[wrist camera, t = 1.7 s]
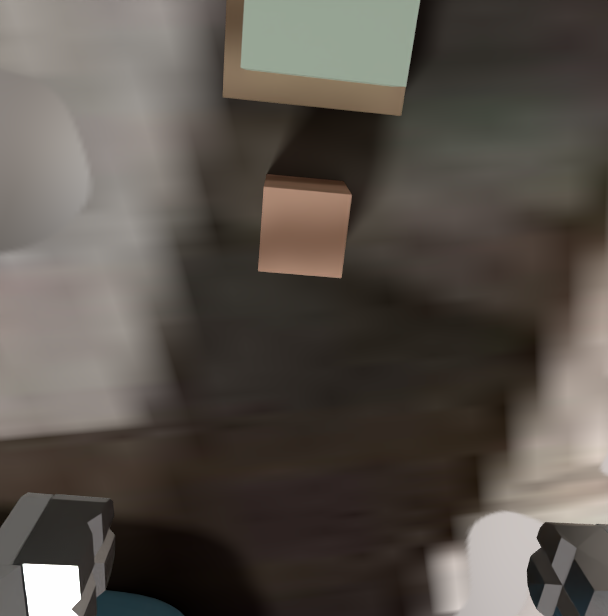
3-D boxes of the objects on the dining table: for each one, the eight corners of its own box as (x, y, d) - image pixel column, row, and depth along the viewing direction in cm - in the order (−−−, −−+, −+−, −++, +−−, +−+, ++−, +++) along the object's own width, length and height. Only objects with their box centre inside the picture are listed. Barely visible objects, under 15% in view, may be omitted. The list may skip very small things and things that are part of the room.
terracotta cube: (266, 173, 35) (263, 186, 30) (343, 180, 35) (351, 194, 31) (261, 248, 37) (258, 271, 32) (334, 254, 37) (341, 277, 33)
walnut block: (238, -98, 30) (231, -125, 26) (416, -75, 30) (434, -98, 27) (229, 96, 34) (222, 97, 30) (388, 112, 34) (401, 116, 30)
